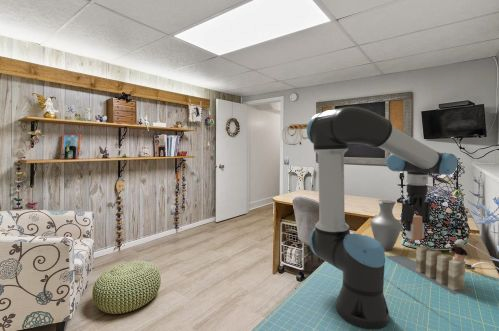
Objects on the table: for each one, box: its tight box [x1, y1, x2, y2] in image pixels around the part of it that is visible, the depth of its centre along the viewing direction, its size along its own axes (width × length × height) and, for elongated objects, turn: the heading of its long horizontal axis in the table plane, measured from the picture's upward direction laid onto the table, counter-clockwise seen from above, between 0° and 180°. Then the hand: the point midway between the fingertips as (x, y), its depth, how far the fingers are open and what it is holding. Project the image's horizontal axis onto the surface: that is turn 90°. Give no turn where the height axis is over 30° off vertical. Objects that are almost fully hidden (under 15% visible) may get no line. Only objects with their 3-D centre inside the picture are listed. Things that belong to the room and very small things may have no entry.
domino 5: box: [448, 259, 466, 290], centre depth 92 cm, size 5×2×10 cm, turn 104°
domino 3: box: [425, 249, 442, 278], centre depth 101 cm, size 5×2×10 cm, turn 104°
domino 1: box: [407, 215, 423, 241], centre depth 109 cm, size 5×2×10 cm, turn 104°
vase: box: [370, 199, 403, 251], centre depth 132 cm, size 14×14×25 cm
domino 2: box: [415, 245, 432, 273], centre depth 105 cm, size 5×2×10 cm, turn 104°
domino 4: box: [436, 254, 454, 284], centre depth 96 cm, size 5×2×10 cm, turn 104°
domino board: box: [385, 254, 474, 295], centre depth 105 cm, size 9×32×1 cm, turn 14°
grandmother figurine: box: [449, 238, 470, 261], centre depth 110 cm, size 8×4×13 cm, turn 27°
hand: (414, 237), depth 109 cm, fingers closed on domino 1, 5 cm apart
